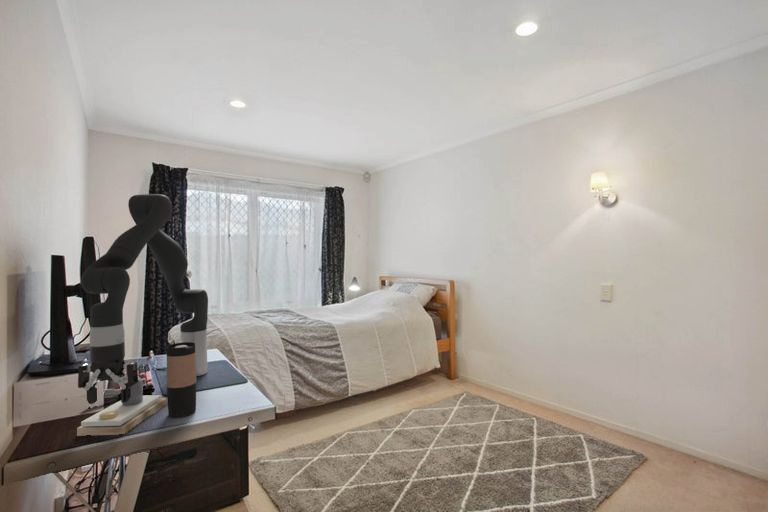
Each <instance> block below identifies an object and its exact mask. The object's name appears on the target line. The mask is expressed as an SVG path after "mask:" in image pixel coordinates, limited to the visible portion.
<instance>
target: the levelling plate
mask: <svg viewBox="0 0 768 512" xmlns="http://www.w3.org/2000/svg"><path fill="white" fill-rule="evenodd" d="M143 386H144V383H143V379H141V377H139V376H138V383H137V384H135V385H133V386H131V398H130V399H129V401H127V402H125V403H121V399H120V400H119V401H117V402H115V403H114V404H110V405H109V406H107V407H106V408H104V409H102V410H100V411H98V412H97V413H95V414H93V415H91V416H89V417H87V418H86V419H84V420H82V421H81V422H80V426H81V427H85V426H120V425H122V424H123V423H125V422H127V421H128V420H130V419H131V418H133V417H134V416H136V415H137V414H139V413H141V412H142V411H144V410H145V409H147V408H148V407H150V406H151V405H153V404H154V403H156V402H158V401H159V400H161V399H162V398H163V397H162V394H151V395H150V394H149V395H147V394H146V395H144V391H143Z"/></svg>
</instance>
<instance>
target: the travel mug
mask: <svg viewBox="0 0 768 512" xmlns="http://www.w3.org/2000/svg"><path fill="white" fill-rule="evenodd" d="M166 393H167V394H166V395H167V397H166V398H167V408H168V409H167V415H168V417H169V418H171V419H179V418H186V417H188V416H191V415H193V414H195V413H196V409H197V376H196V353H195V343H192V342H183V343H181V342H177V343H172V344H168V345H167V346H166ZM185 416H186V417H185Z"/></svg>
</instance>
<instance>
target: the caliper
mask: <svg viewBox="0 0 768 512" xmlns="http://www.w3.org/2000/svg"><path fill="white" fill-rule="evenodd" d="M121 389H122V388H118V389H116V388H115V389H114V388H108V389H106V388H105V389H104V390H105V396H104V399H110V398H114V396H117V395H121V394H120V393H121Z"/></svg>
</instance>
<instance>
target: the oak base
mask: <svg viewBox="0 0 768 512" xmlns="http://www.w3.org/2000/svg"><path fill="white" fill-rule="evenodd" d="M166 406H168V398H167V397H162V399H161V400H159V401H158V402H156V403H154V404H153V405H151V406H150V407H148V408H147V409H145V410H144V411H142V412H141V413H139V414H137V415H136V416H134V417H133V418H131V419H130V420H128V421H127V422H125V423H123V424H122V425H120V426H85V427H81V425H80V426H78V427H76V429H77V430H76V434H77V435H76V436H77V437H83V436H86V435H91V436H114V435H117V436H118V435H119V434H124V435H126V434H127V433H129V432H130V431H132V430H133V429H134V428H135V426H136V425H137V424H138V425H140V424H141V423H142V422H141V421H143V420H144V419H145V420H147V419H148V418H149V416H150V415H151V416H152V414H153V415H154V414H156V413H157V412H158V411H159V410H161V409H163V408H164V407H166ZM151 416H150V417H151ZM147 417H148V418H147ZM146 418H147V419H146ZM145 420H144V421H145ZM144 421H143V422H144ZM140 422H141V423H140ZM139 423H140V424H139ZM138 425H137V426H138ZM137 426H136V427H137ZM133 427H134V428H133ZM132 428H133V429H132ZM129 430H130V431H129ZM128 431H129V432H128ZM125 433H126V434H125ZM119 436H120V435H119ZM86 437H87V436H86Z"/></svg>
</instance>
